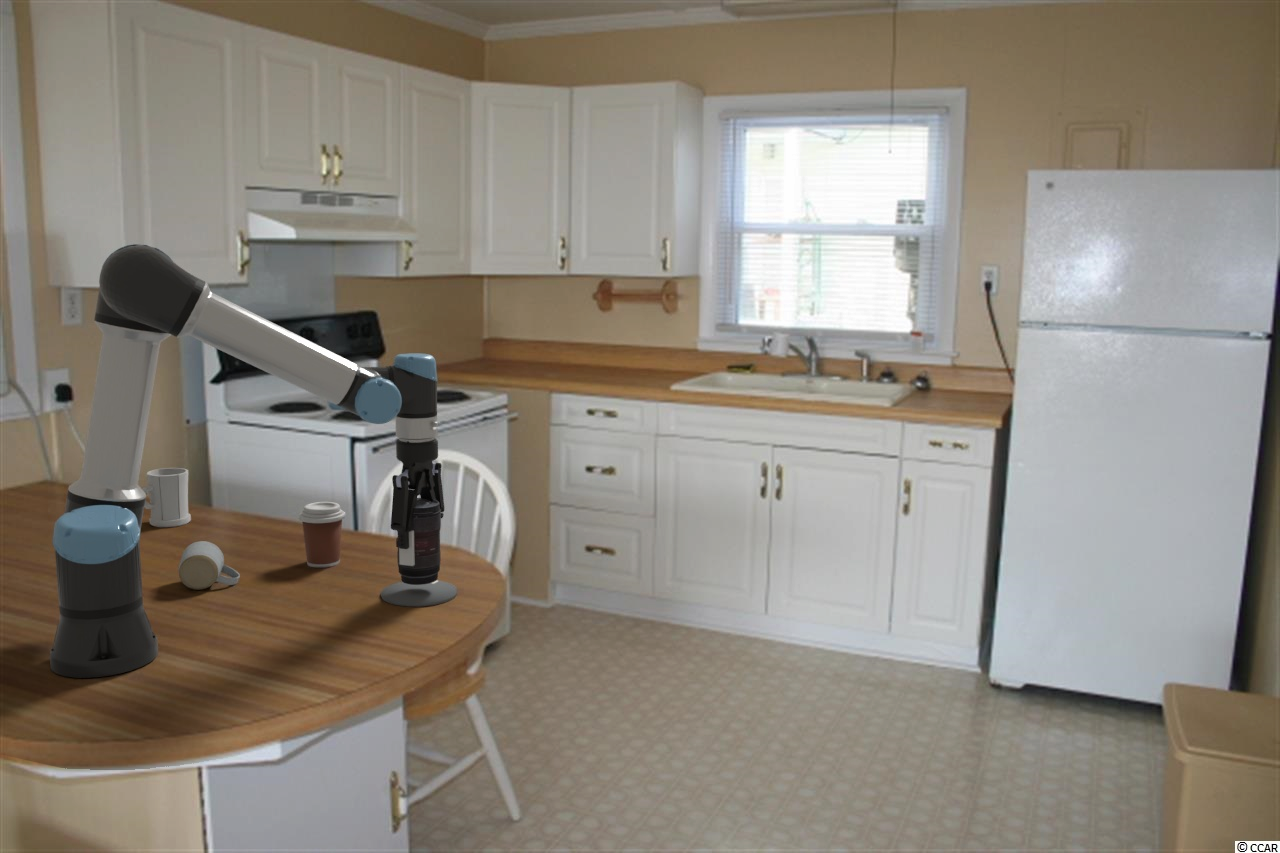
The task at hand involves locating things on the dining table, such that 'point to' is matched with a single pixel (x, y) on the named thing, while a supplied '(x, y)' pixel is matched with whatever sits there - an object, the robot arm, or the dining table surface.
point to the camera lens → (424, 544)
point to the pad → (419, 594)
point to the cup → (168, 497)
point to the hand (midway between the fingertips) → (419, 558)
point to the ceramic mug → (204, 566)
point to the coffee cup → (322, 533)
